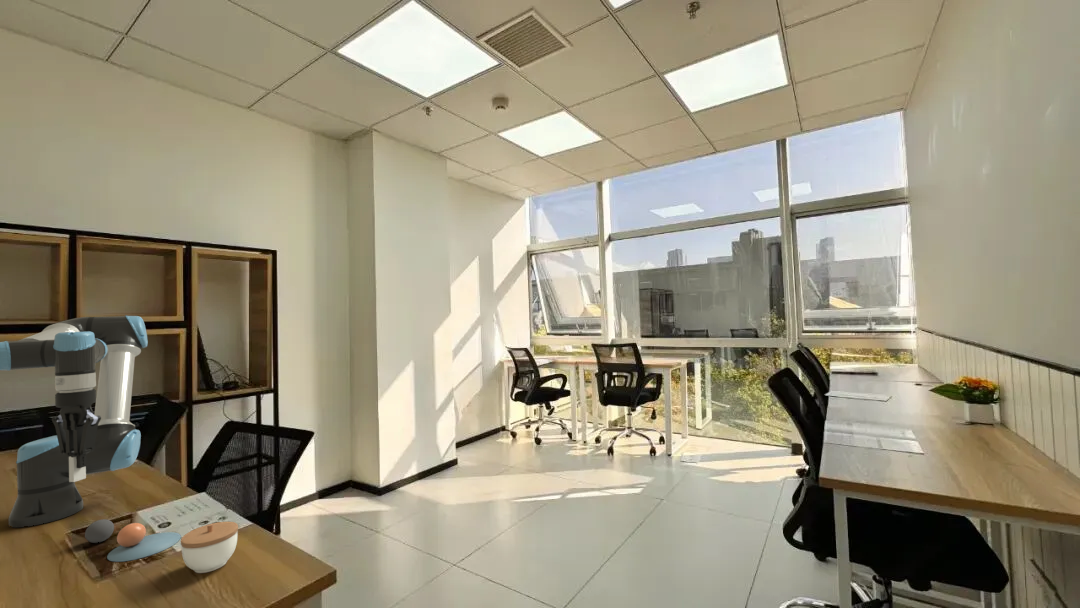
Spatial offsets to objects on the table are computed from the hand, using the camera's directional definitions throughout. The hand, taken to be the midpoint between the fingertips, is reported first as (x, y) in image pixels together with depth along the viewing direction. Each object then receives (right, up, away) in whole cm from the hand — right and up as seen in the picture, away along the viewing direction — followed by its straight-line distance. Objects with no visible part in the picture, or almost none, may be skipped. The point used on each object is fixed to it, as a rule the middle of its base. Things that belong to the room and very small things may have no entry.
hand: (77, 479), depth 118 cm
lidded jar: (+46, -15, -14) cm, 50 cm away
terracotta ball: (+17, -13, -3) cm, 22 cm away
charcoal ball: (+6, -13, -1) cm, 15 cm away
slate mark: (+21, -15, -4) cm, 27 cm away
